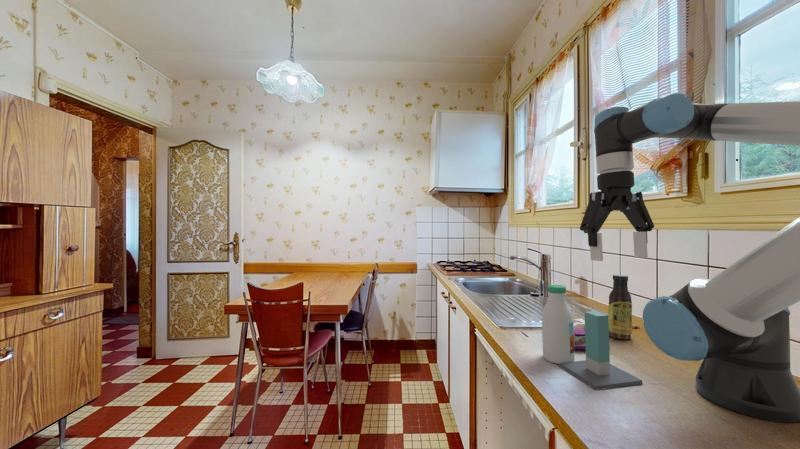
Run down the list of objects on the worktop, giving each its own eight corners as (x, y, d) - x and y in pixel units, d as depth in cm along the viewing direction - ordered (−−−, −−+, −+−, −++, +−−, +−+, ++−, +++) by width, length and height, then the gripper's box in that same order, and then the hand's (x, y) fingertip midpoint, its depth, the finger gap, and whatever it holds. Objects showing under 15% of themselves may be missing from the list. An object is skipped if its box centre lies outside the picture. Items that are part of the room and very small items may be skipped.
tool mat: (642, 383, 72) (642, 380, 72) (596, 389, 69) (596, 386, 70) (600, 361, 83) (600, 358, 83) (559, 366, 81) (559, 363, 81)
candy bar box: (569, 333, 91) (548, 317, 107) (569, 351, 91) (548, 332, 107) (610, 333, 90) (582, 317, 106) (610, 351, 90) (583, 332, 106)
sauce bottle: (613, 340, 98) (611, 276, 99) (605, 333, 104) (603, 273, 105) (637, 341, 97) (635, 276, 97) (627, 334, 103) (625, 273, 103)
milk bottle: (564, 368, 80) (562, 289, 80) (537, 358, 87) (535, 285, 87) (580, 360, 84) (578, 286, 85) (552, 351, 91) (551, 282, 91)
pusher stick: (609, 374, 75) (608, 315, 75) (598, 375, 74) (597, 316, 74) (596, 366, 79) (595, 310, 79) (586, 368, 78) (584, 311, 78)
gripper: (639, 176, 84) (643, 255, 83) (561, 174, 78) (565, 260, 77) (669, 170, 77) (674, 257, 76) (585, 168, 71) (590, 263, 70)
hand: (619, 259), depth 77 cm, fingers open, 13 cm apart
